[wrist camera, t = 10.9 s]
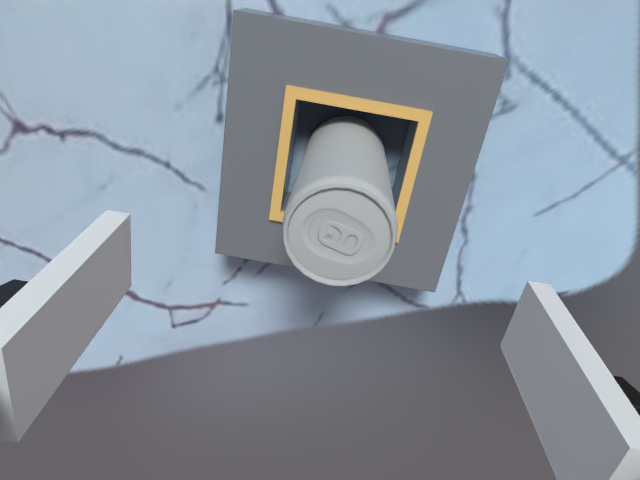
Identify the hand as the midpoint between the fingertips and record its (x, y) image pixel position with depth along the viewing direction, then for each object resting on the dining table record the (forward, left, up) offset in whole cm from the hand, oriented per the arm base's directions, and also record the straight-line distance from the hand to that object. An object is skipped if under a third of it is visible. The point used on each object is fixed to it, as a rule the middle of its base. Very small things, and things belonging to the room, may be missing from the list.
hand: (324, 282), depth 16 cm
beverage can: (0, 0, -16) cm, 16 cm away
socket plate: (0, 0, -16) cm, 16 cm away
